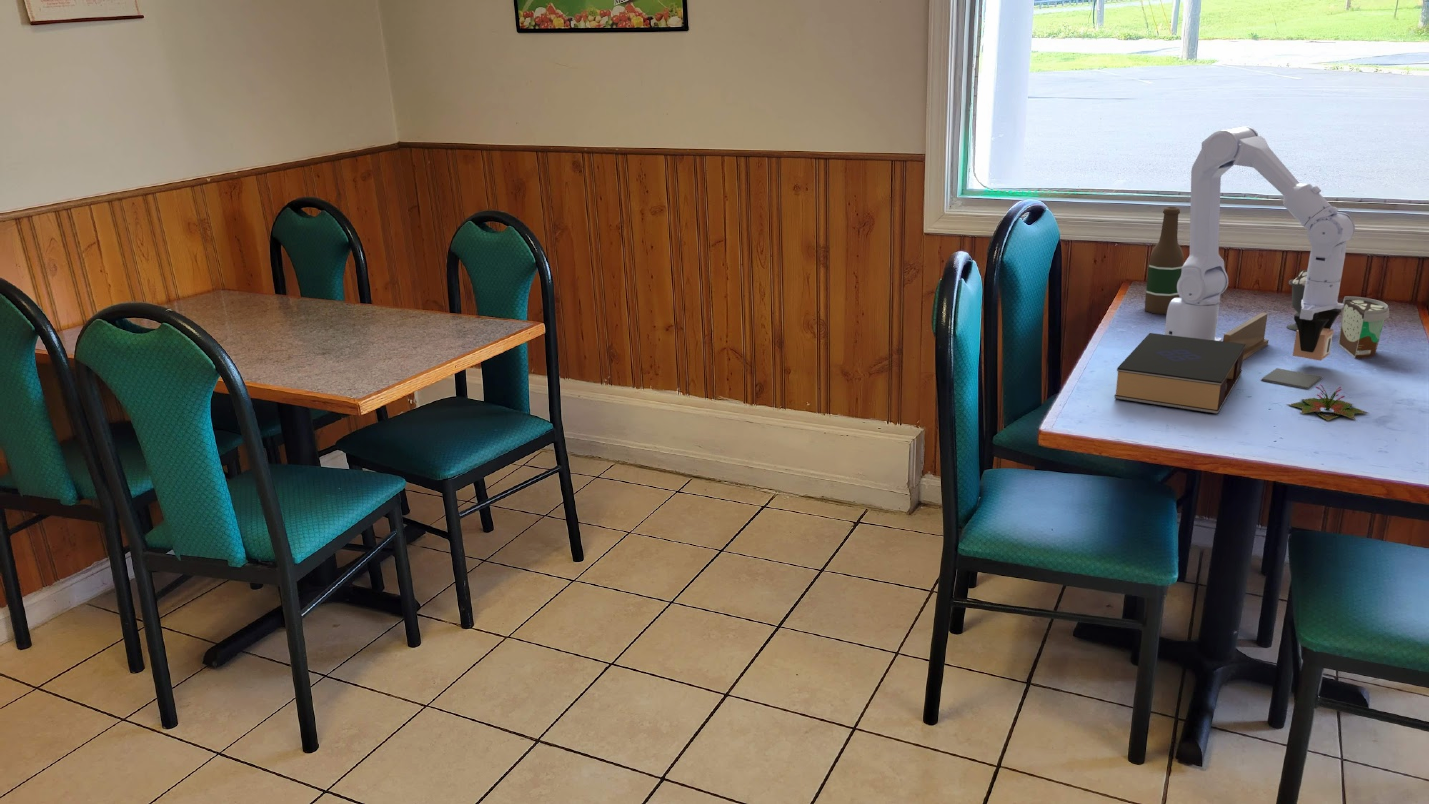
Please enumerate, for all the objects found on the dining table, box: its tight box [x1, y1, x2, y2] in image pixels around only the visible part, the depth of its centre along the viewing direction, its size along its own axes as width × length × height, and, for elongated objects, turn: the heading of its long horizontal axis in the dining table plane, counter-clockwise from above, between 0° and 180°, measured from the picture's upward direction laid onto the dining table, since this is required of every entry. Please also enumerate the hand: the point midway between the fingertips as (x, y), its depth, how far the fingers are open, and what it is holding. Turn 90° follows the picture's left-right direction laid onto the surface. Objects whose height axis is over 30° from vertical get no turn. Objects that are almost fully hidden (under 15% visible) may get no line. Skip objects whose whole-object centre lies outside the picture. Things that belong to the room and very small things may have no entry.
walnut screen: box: [1222, 312, 1269, 361], centre depth 210 cm, size 3×20×6 cm, turn 135°
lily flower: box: [1286, 384, 1369, 421], centre depth 181 cm, size 12×12×5 cm
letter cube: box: [1292, 328, 1334, 361], centre depth 201 cm, size 5×5×5 cm
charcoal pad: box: [1260, 367, 1323, 390], centre depth 196 cm, size 8×8×1 cm
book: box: [1113, 332, 1245, 415], centre depth 194 cm, size 17×25×7 cm
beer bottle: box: [1144, 206, 1184, 315], centre depth 240 cm, size 8×8×24 cm
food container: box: [1337, 295, 1390, 359], centre depth 208 cm, size 12×6×10 cm, turn 168°
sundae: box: [1286, 269, 1308, 332], centre depth 224 cm, size 7×7×15 cm
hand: (1312, 347), depth 202 cm, fingers closed on letter cube, 5 cm apart
